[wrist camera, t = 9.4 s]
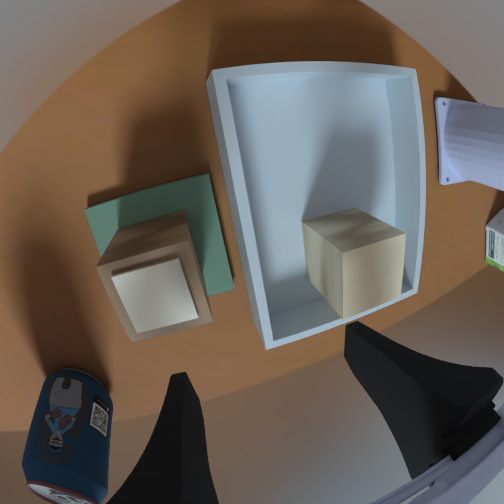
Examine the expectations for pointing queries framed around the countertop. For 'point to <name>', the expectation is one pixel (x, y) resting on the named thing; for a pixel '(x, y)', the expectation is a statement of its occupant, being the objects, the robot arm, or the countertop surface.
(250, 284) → the bin
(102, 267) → the brown wooden block
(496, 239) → the syrup box
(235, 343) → the countertop surface
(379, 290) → the birch block
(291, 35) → the countertop surface
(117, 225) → the mat
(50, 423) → the soda can
